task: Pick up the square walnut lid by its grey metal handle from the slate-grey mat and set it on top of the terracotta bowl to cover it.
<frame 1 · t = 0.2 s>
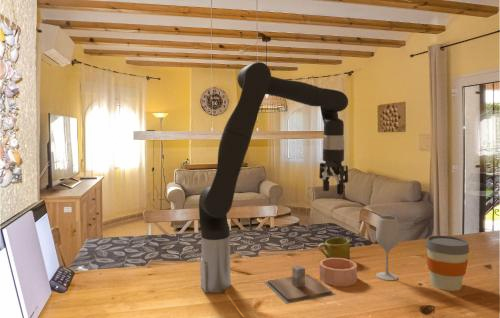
hand: (332, 192, 138), 29 cm above the table, fingers open, 8 cm apart
lid: (298, 288, 122), point 1 cm above the table, touching mat
wineglass: (386, 277, 133), on the table
mat: (298, 290, 122), on the table
mug: (333, 261, 150), on the table
bowl: (337, 280, 129), on the table
reusable coffee cup: (445, 285, 125), on the table
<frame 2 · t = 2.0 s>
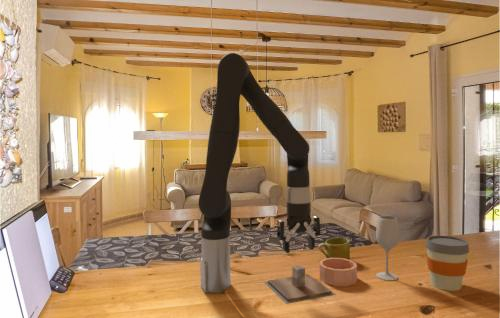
hand: (299, 250, 121), 13 cm above the table, fingers open, 8 cm apart
nothing on the table moved.
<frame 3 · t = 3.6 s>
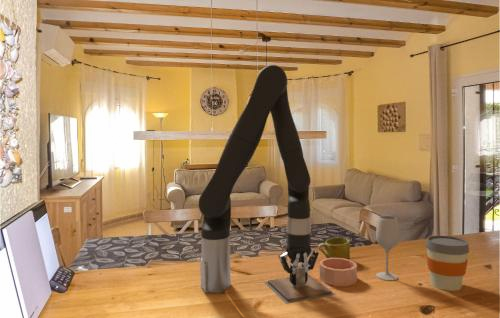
hand: (298, 283, 122), 2 cm above the table, fingers closed on lid, 3 cm apart
lid: (298, 288, 122), point 1 cm above the table, touching gripper, mat
everything else where it was.
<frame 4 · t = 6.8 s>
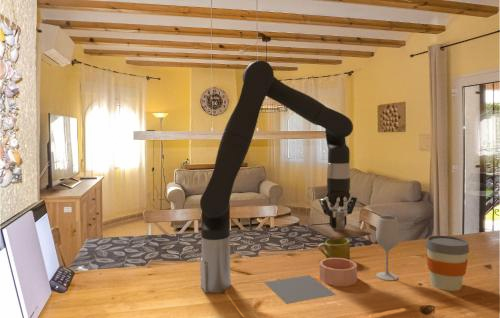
hand: (338, 227, 128), 19 cm above the table, fingers closed on lid, 3 cm apart
lid: (338, 231, 128), point 17 cm above the table, touching gripper
everything else where it was.
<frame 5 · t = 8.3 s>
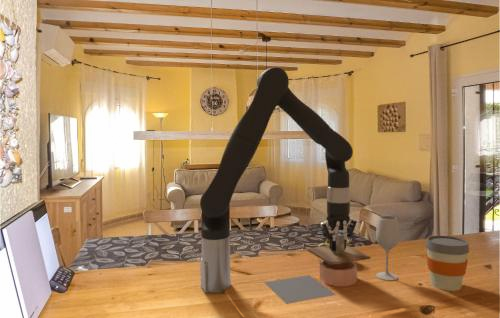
hand: (337, 250, 129), 11 cm above the table, fingers closed on lid, 3 cm apart
lid: (337, 254, 129), point 9 cm above the table, touching gripper
everything else where it was.
when the fingers open (9 cm above the table, at t = 9.8 s): lid drops 1 cm, resting on bowl.
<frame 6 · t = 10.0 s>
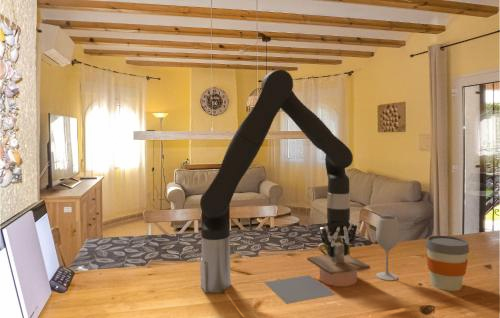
hand: (338, 255, 129), 9 cm above the table, fingers open, 4 cm apart
lid: (337, 263, 129), point 6 cm above the table, touching bowl
everything else where it was.
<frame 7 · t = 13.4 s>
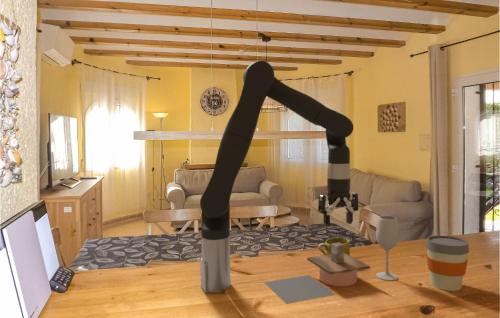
hand: (338, 224, 128), 20 cm above the table, fingers open, 8 cm apart
nothing on the table moved.
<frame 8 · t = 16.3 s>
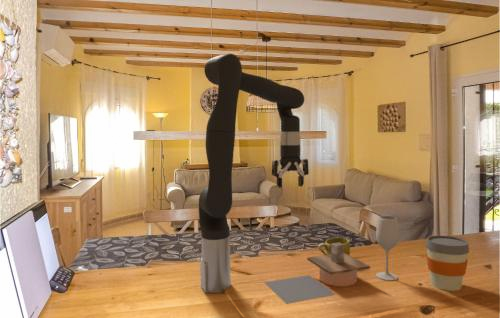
hand: (290, 186, 143), 30 cm above the table, fingers open, 8 cm apart
nothing on the table moved.
at the end: lid 0.2 cm from the bowl (horizontally); lid point 6.0 cm above the table; lid tilted 0° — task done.
